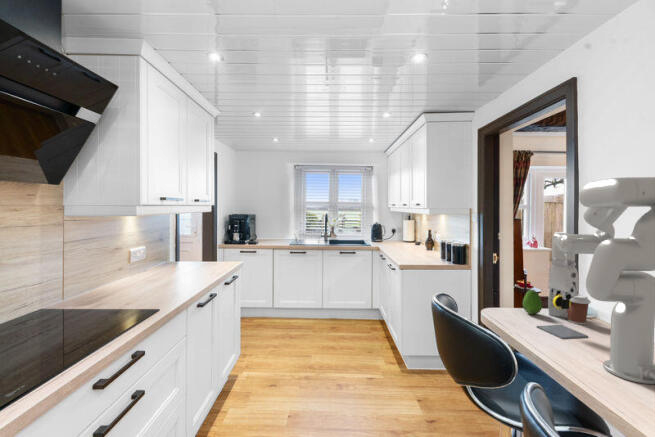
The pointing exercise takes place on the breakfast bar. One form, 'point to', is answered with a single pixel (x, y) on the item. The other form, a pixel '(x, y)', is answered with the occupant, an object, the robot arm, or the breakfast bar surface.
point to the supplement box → (553, 309)
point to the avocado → (532, 302)
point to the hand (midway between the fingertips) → (561, 307)
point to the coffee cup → (578, 309)
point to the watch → (556, 298)
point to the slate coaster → (562, 331)
